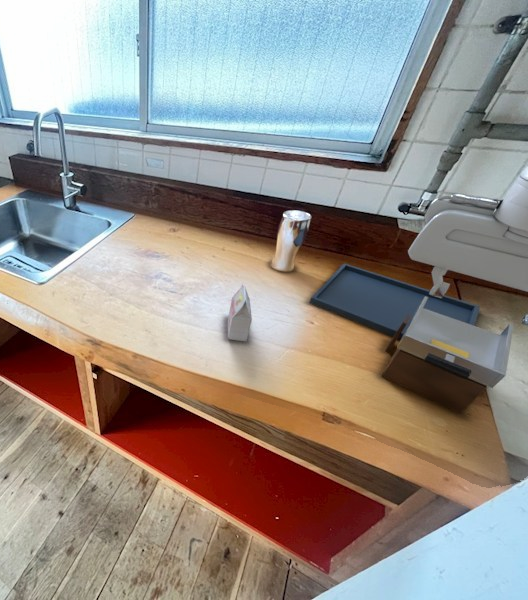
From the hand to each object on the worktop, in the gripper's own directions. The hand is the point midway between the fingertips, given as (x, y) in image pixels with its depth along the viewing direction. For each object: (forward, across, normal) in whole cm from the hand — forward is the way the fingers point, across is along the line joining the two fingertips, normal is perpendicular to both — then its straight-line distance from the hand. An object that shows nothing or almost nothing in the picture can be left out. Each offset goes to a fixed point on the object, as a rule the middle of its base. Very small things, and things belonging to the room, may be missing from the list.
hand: (479, 308), depth 43 cm
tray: (+19, -9, +26) cm, 33 cm away
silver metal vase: (+19, -35, +27) cm, 48 cm away
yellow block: (+12, +1, +6) cm, 13 cm away
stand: (+19, +1, +7) cm, 21 cm away
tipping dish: (+12, +1, +7) cm, 14 cm away
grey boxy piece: (+19, -30, -5) cm, 36 cm away
